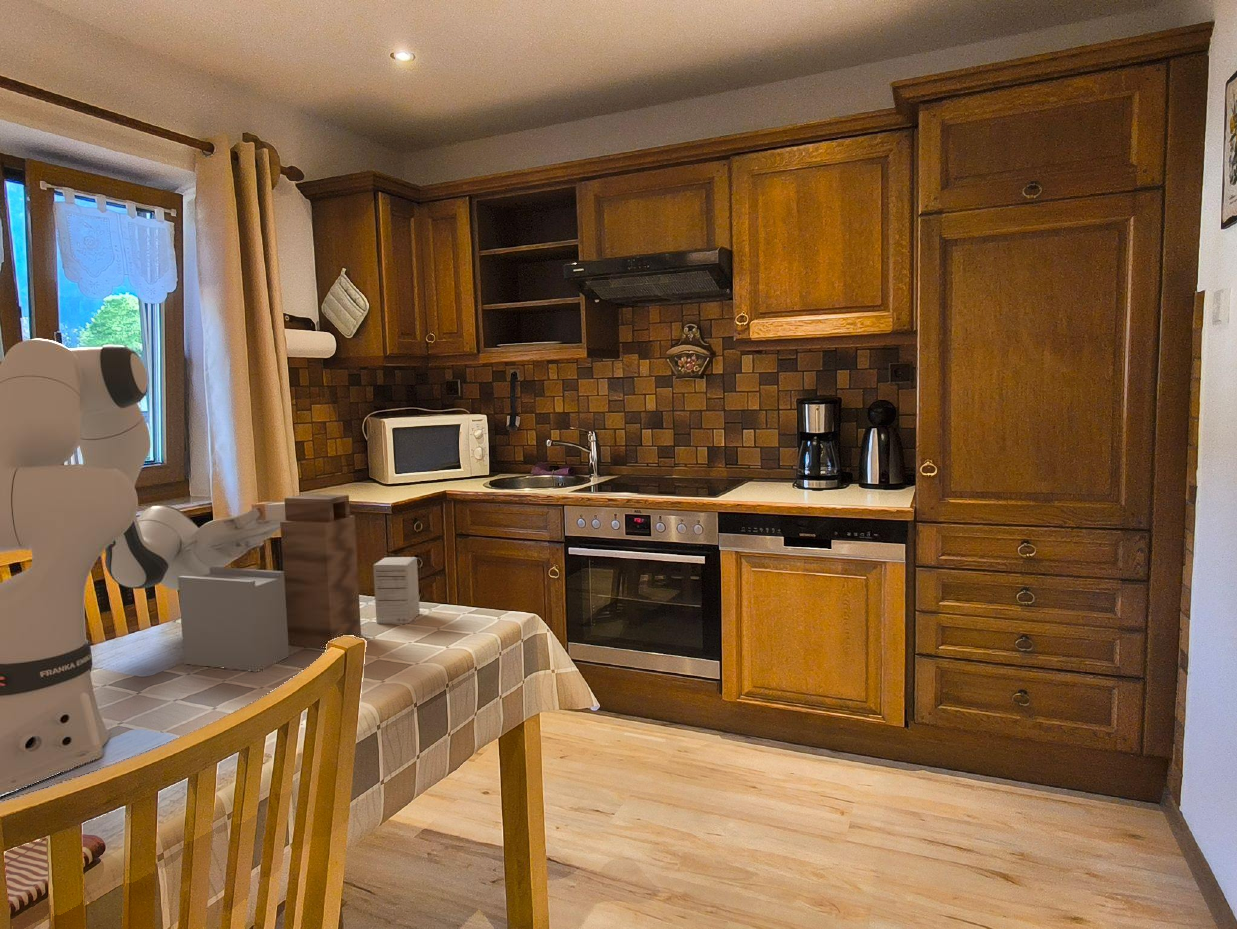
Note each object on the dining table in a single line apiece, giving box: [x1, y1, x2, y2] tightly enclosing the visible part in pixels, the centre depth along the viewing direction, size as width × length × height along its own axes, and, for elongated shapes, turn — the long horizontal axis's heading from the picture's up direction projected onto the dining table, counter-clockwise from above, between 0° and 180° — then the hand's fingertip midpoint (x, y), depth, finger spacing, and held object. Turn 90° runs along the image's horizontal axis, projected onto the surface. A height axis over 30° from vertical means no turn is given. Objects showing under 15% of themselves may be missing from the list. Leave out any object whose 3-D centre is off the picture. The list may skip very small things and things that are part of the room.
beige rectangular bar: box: [250, 501, 286, 521], centre depth 151 cm, size 3×14×3 cm, turn 73°
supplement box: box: [372, 556, 420, 624], centre depth 164 cm, size 7×7×13 cm
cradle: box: [178, 567, 290, 673], centre depth 139 cm, size 8×16×16 cm, turn 73°
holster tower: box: [280, 493, 362, 650], centre depth 150 cm, size 9×10×28 cm
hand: (267, 509), depth 152 cm, fingers closed on beige rectangular bar, 3 cm apart
